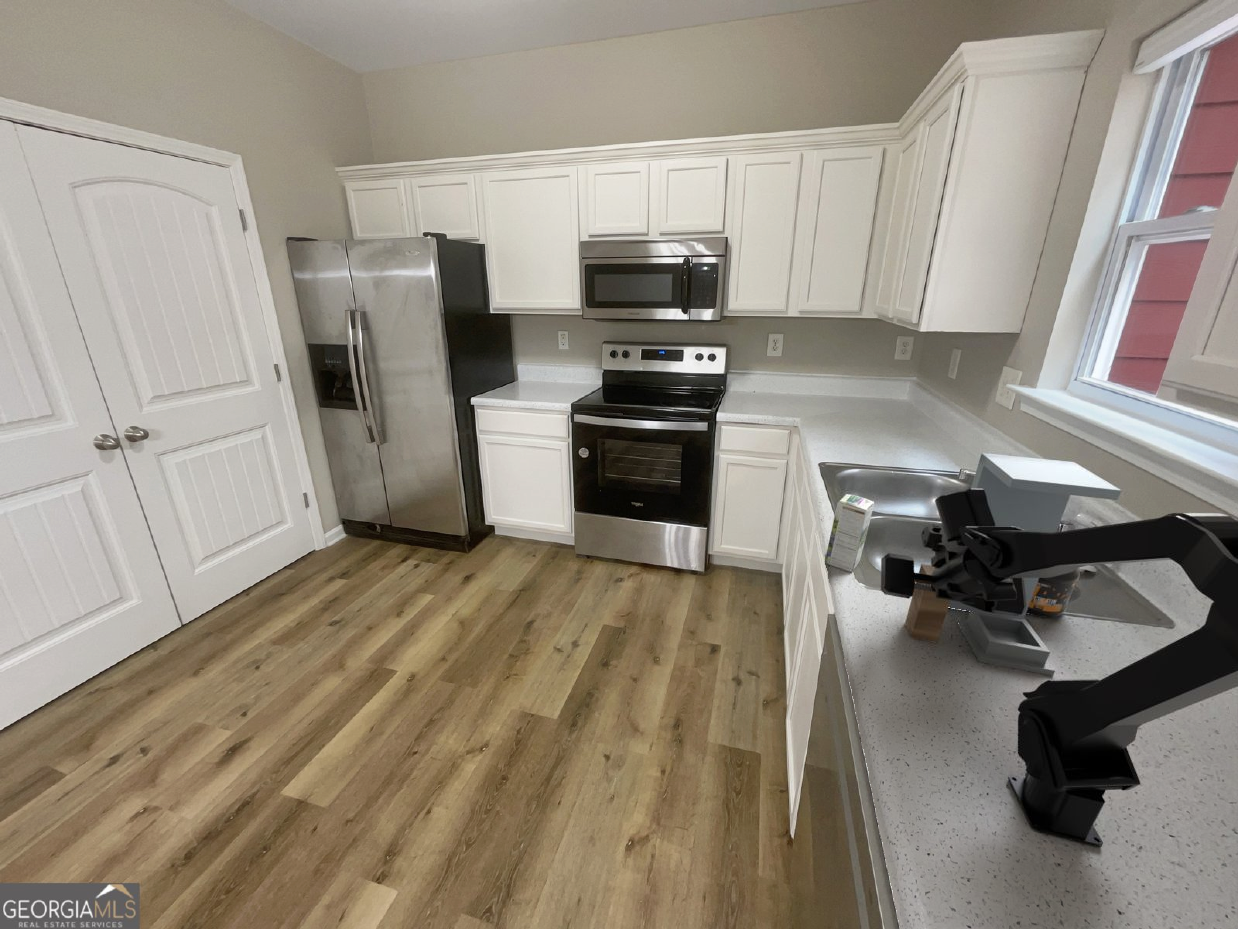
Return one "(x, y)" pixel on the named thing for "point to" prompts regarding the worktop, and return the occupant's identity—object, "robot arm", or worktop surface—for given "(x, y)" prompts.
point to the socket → (1006, 642)
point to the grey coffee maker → (1033, 496)
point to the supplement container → (1052, 595)
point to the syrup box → (849, 532)
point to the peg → (926, 612)
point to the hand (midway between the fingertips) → (929, 594)
